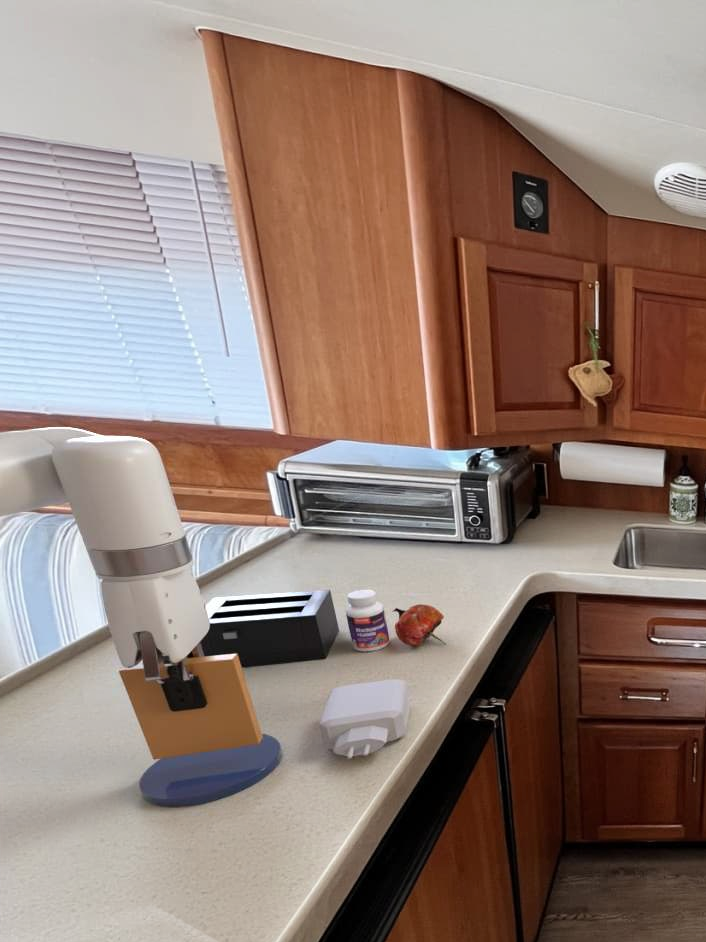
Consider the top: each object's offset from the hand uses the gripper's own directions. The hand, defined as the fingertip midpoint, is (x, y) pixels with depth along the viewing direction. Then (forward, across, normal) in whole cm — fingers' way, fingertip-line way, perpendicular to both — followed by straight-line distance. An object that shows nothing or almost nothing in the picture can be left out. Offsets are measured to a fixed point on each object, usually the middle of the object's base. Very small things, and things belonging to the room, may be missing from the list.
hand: (193, 702), depth 75 cm
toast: (+7, 0, 0) cm, 7 cm away
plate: (+10, 0, 0) cm, 10 cm away
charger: (+10, -2, +16) cm, 19 cm away
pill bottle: (+10, -32, +12) cm, 36 cm away
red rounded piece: (+10, -31, +20) cm, 38 cm away
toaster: (+10, -34, -2) cm, 36 cm away
